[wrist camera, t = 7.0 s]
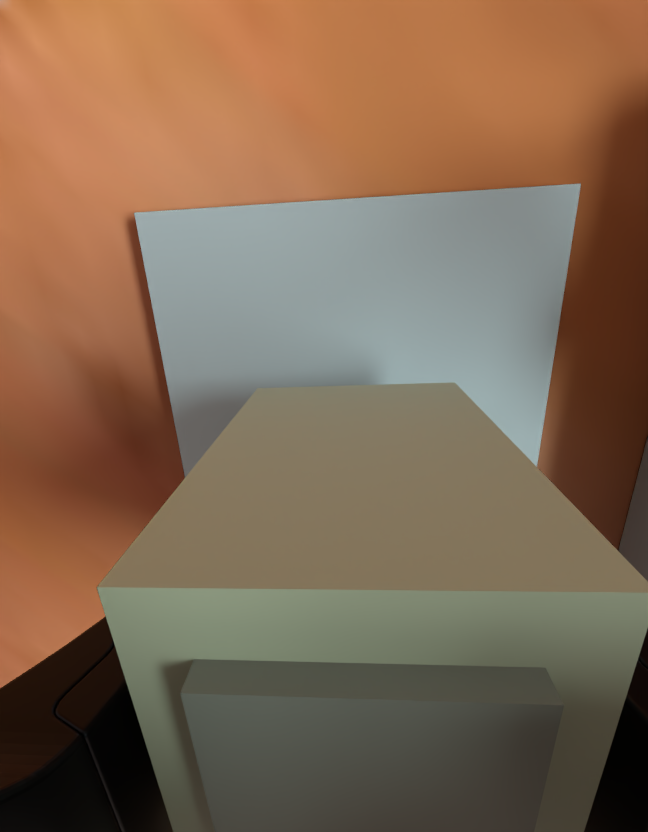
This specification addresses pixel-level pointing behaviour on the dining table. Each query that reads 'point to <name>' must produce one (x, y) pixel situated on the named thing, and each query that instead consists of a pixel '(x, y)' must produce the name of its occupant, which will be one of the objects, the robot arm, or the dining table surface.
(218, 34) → the dining table surface
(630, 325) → the dining table surface
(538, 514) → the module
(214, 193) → the dining table surface
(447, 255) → the blue-grey flat plate
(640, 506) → the equipment case
